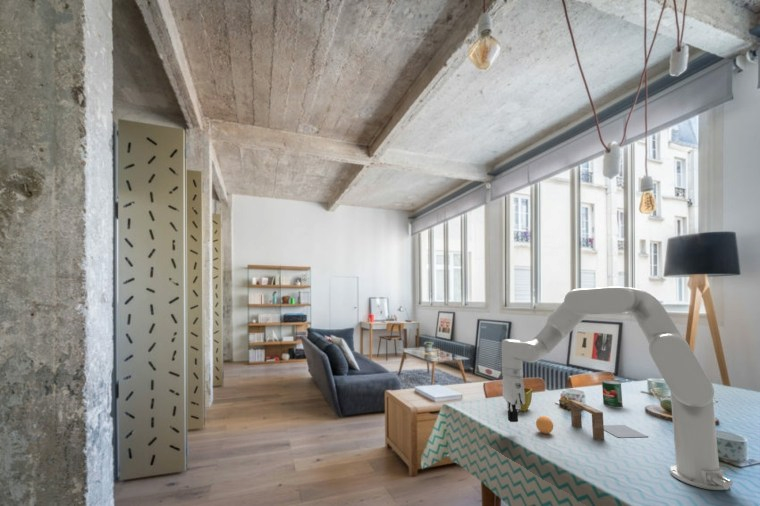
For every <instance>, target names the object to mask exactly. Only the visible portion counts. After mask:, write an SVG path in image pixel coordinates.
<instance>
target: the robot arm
mask: <svg viewBox="0 0 760 506" xmlns="http://www.w3.org/2000/svg"><path fill="white" fill-rule="evenodd" d="M625 313H629V314H631V315H632V316H633V317H634V318H635V321H636V322H637V324H638V326H639V328H640V329H641V330H642V333H643V334H644V336H645V338H646V340H647V342H648V350H649V354H650V356H651V358H652V360H653V363H654V364H655V366H656V368H657V370H658V371H659V373H660V375H661V376H662V379H663V381H664V382H665V384H666V386H667V387H668V389H669V392H670V403H671V404H670V405H671V417H672V427H673V429H672V430H673V439H674V440H673V441H674V443H673V444H674V453H675V455H674V456H675V464H674V465H671V466H670V467H669V472H670V474H671V475H672V476H673V478H675V479H677V480H679V481H681V482H683V483H685V484H688V485H691V486H694V487H697V488H700V489H704V490H711V491H724V490H725V491H726V490H729V489H730V487H731V486H733V484H734V483H733V481H732V480H731V479H728V478H727V477H725V476H724V470H723V469H720V464H719V463H720V462H719V452H718V451H719V450H718V441H717V430H716V427H717V425H716V417H715V408H714V397H715V389H714V386H713V383H712V381H711V379H710V377H709V376H708V374H706V372H705V371H704V369H703V367H702V366H701V364H700V362H699V360H698V358H697V356H696V355H695V353H694V352H693V350H692V349H691V347H690V345H689V343H688V342H687V340H686V339H685V337H684V336H683V335H682V334H681V332H680V330H679V329H678V328H677V326H676V324H675V323H674V321H673V320H672V318H671V316H670V315H669V313H668V311H667V310H666V309H665V307H664V306H663V304H662V303H661V302H660V301H659V300H658V299H657V298H656V297H655V296H654V295H652V294H650V293H649V292H648V291H644V290H642V289H640V288H635V287H629V286H617V285H616V286H606V287H605V286H604V287H594V288H593V287H592V288H574V289H572V290H570V291H569V292H567V293H566V294H565V296H564V299H563V302H562V303H561V304H560V305H559V306H558V307H557V308H556V309H555V310H554V311H553V312H552V313H550V315H549V316H548V318H547V319H546V323H545V326H544V327H543V328H542V329H541V330H540V332H539V333H538V334H536V335H535V337H533V339H531V340H528V341H521V340H519V339H515V338H514V339H513V338H505V339H502V341H501V376H502V398H503V399H504V401H505V402H506V405H507V407H506V408H507V420H508V421H509V422H510V423H518V422H519V419H518V418H519V415H518V414H519V410H518V409H521V406H520V404H522V405H524V404H525V393H524V388H525V383H524V379H523V377H524V374H523V373H524V371H523V370H524V368H523V364H524V363H523V362H527V363H536V362H538V361H541V360H542V359H544V358H545V357H546V356H548V355H549V354H550V353H551V352H552V351H553V350H554V349H555V348H556V347H557V346H558V345H559V344H560V343H561V342H562V341H563V340H564V339H565V338H566V337H567V336H568V335H569V334H570V333H571V332H572V331H573V330H574V329H575V328H576V327H577V326H578V325H579V324H580V323H581V322H583V320H584V319H585V318H586V317H588V316H589V315H606V314H607V315H608V314H609V315H611V314H612V315H613V314H625Z"/></svg>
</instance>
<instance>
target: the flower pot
mask: <svg viewBox="0 0 760 506" xmlns="http://www.w3.org/2000/svg"><path fill="white" fill-rule="evenodd" d="M524 393H525V404H524V405H522V404H520V406H521V409H518V411H519V412H526V411H527V410H529V408H530V405H531V402H532V396H533V388H527V387H524Z"/></svg>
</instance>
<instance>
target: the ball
mask: <svg viewBox="0 0 760 506" xmlns="http://www.w3.org/2000/svg"><path fill="white" fill-rule="evenodd" d="M535 425H536V428H537V430H538V431H539V432H541V433H542V434H544V435H545V434H550V433H551V432H553V430H554V423H553V421H552V420H551V418H549V417H547V416H545V415H543V416H539V417H538V418H537V419H536V422H535Z"/></svg>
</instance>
